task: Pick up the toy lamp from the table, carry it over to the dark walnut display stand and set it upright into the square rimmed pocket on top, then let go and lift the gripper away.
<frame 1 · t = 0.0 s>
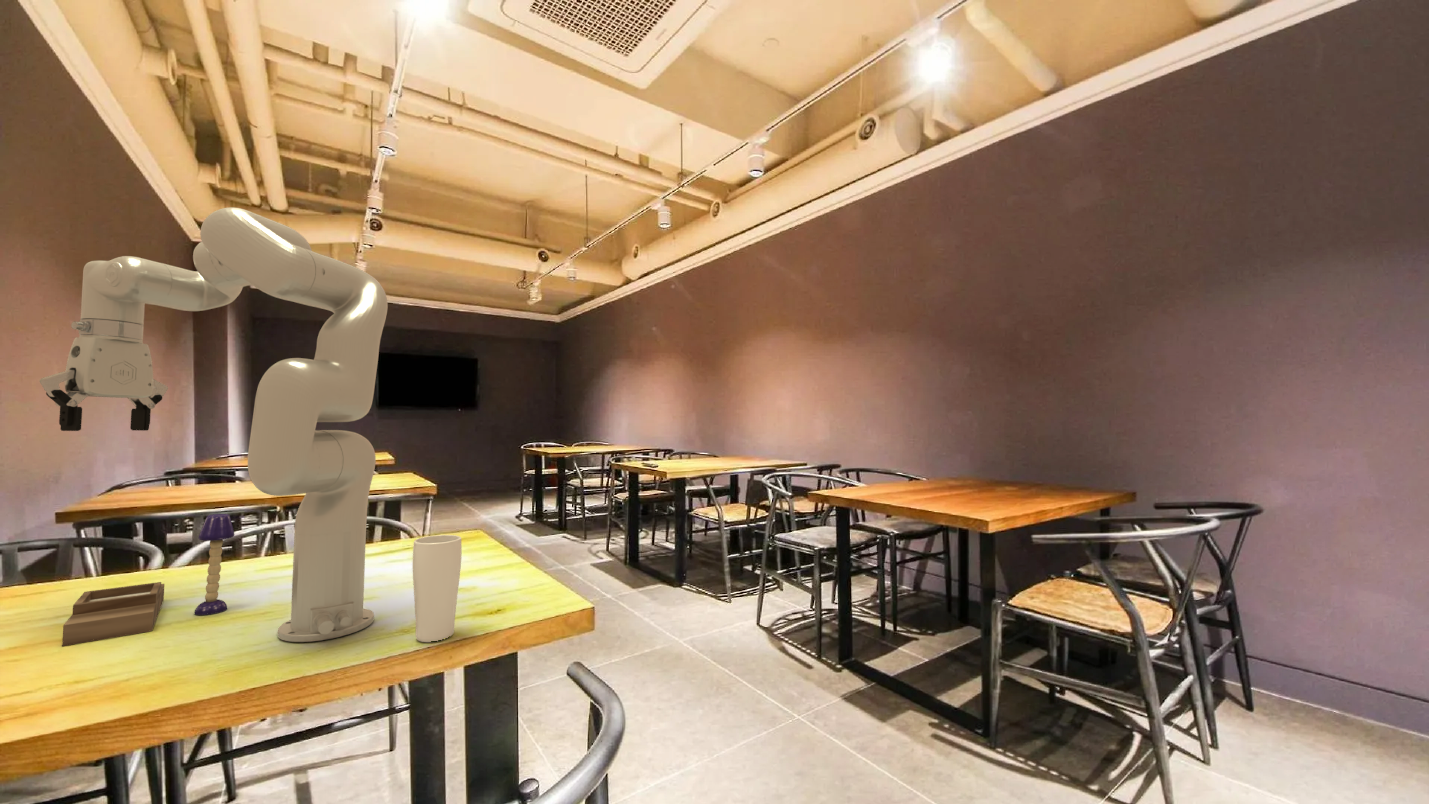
hand: (106, 430, 96), 31 cm above the table, tool pointing down, fingers open, 9 cm apart
drinking glass: (435, 638, 85), on the table
display stand: (118, 620, 90), on the table
toy lamp: (212, 612, 95), on the table
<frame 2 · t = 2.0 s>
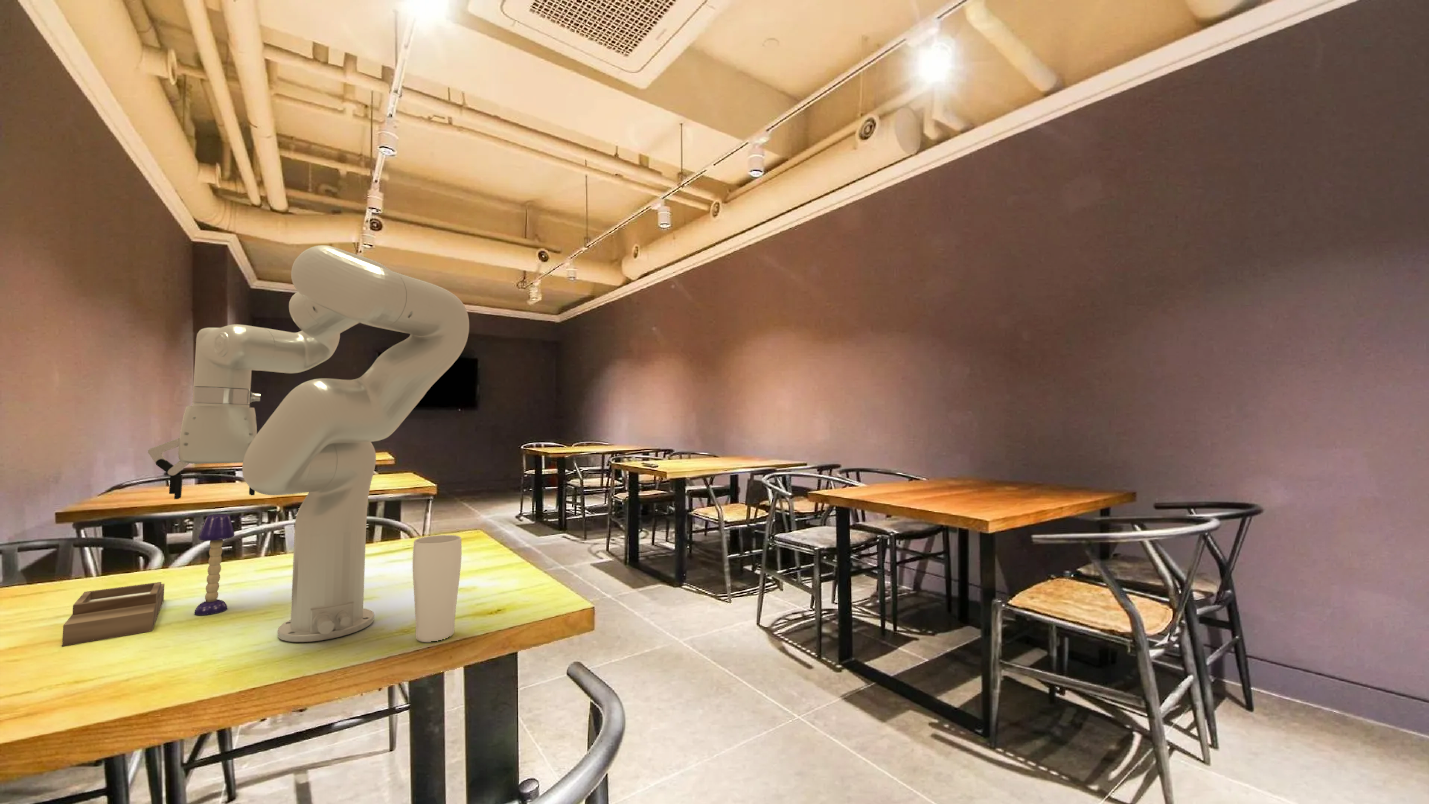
hand: (215, 496, 96), 20 cm above the table, tool pointing down, fingers open, 9 cm apart
nothing on the table moved.
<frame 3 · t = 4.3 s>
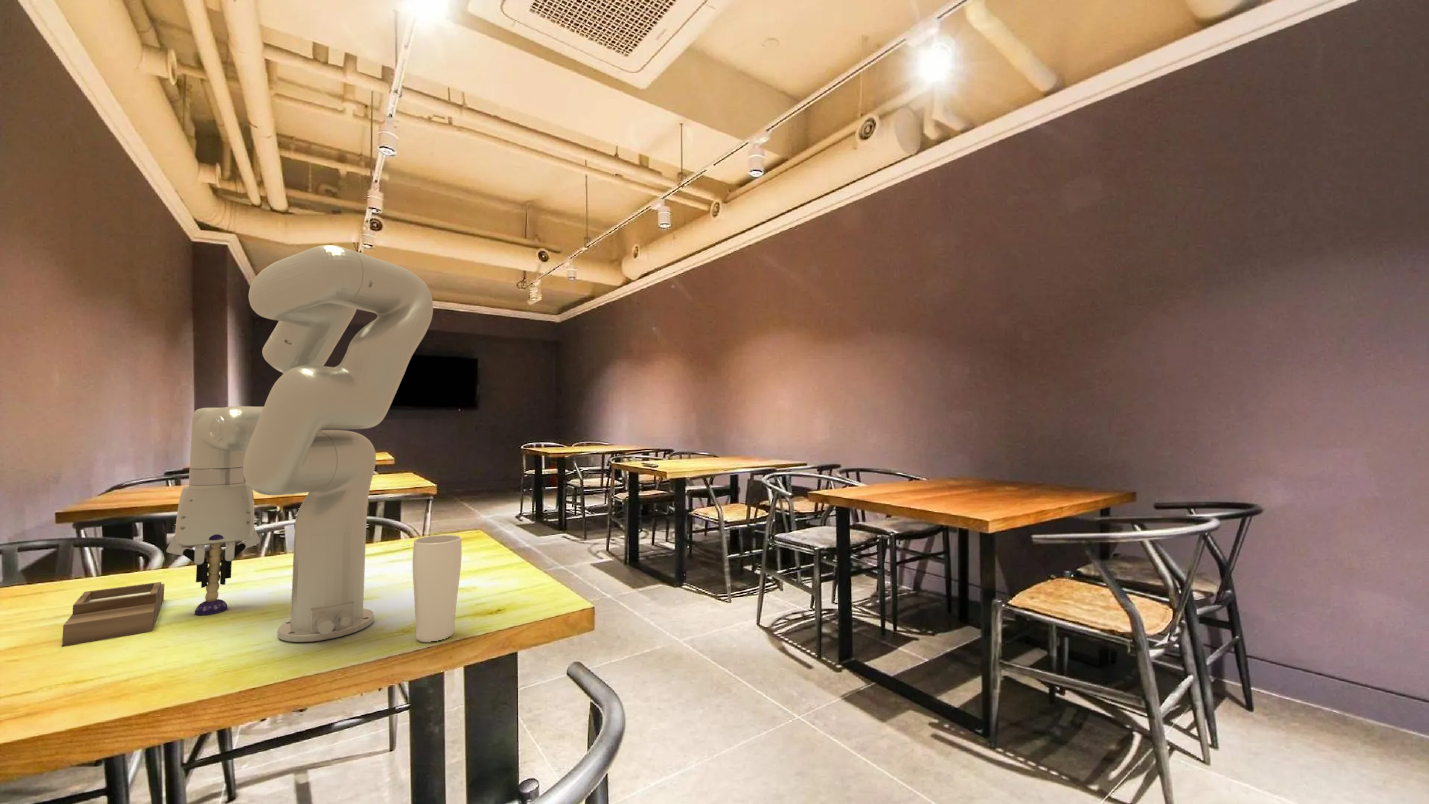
hand: (213, 583, 95), 5 cm above the table, tool pointing down, fingers closed on toy lamp
toy lamp: (212, 612, 95), on the table, touching gripper
everything else where it was.
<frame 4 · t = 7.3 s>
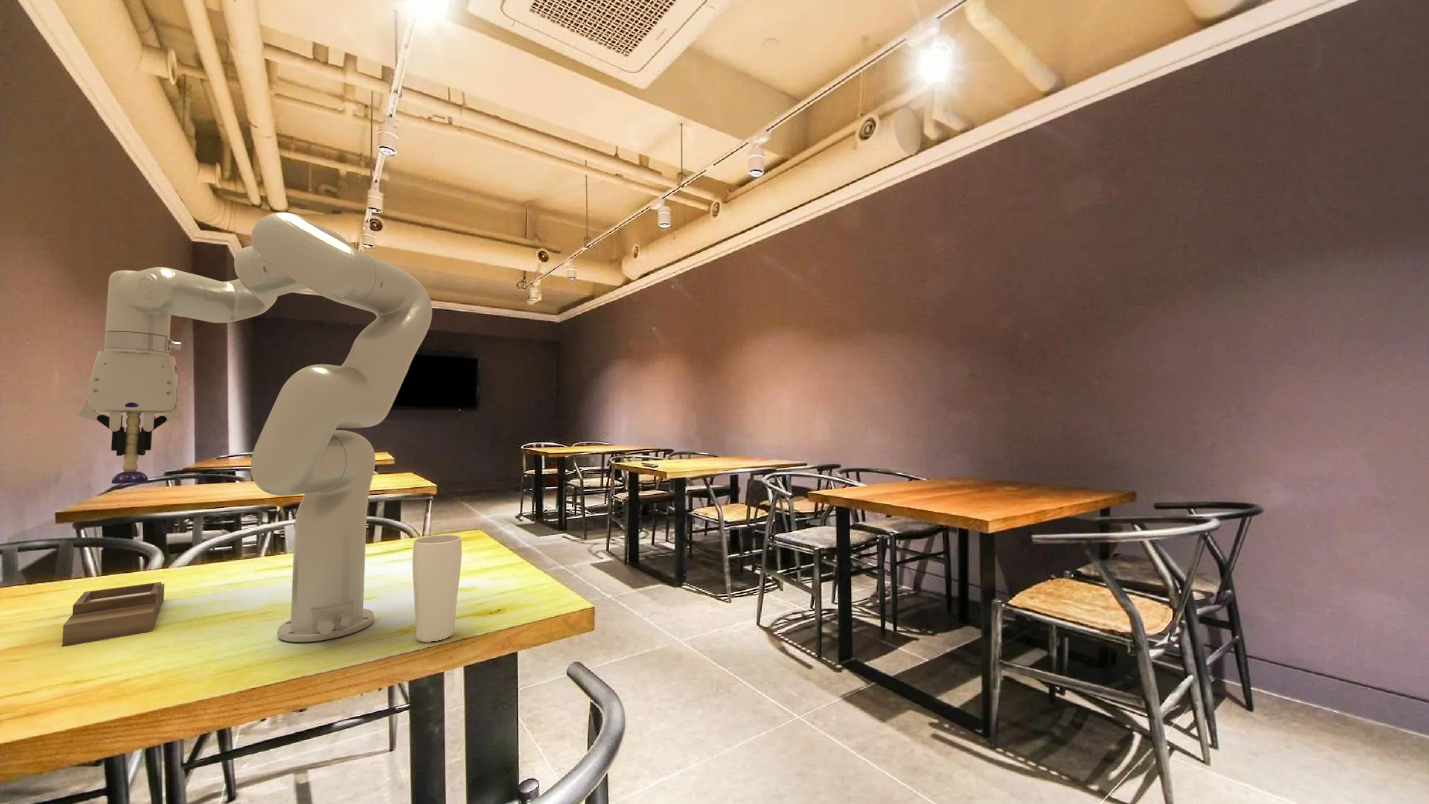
hand: (131, 454, 92), 27 cm above the table, tool pointing down, fingers closed on toy lamp
toy lamp: (131, 483, 92), point 22 cm above the table, touching gripper
everything else where it was.
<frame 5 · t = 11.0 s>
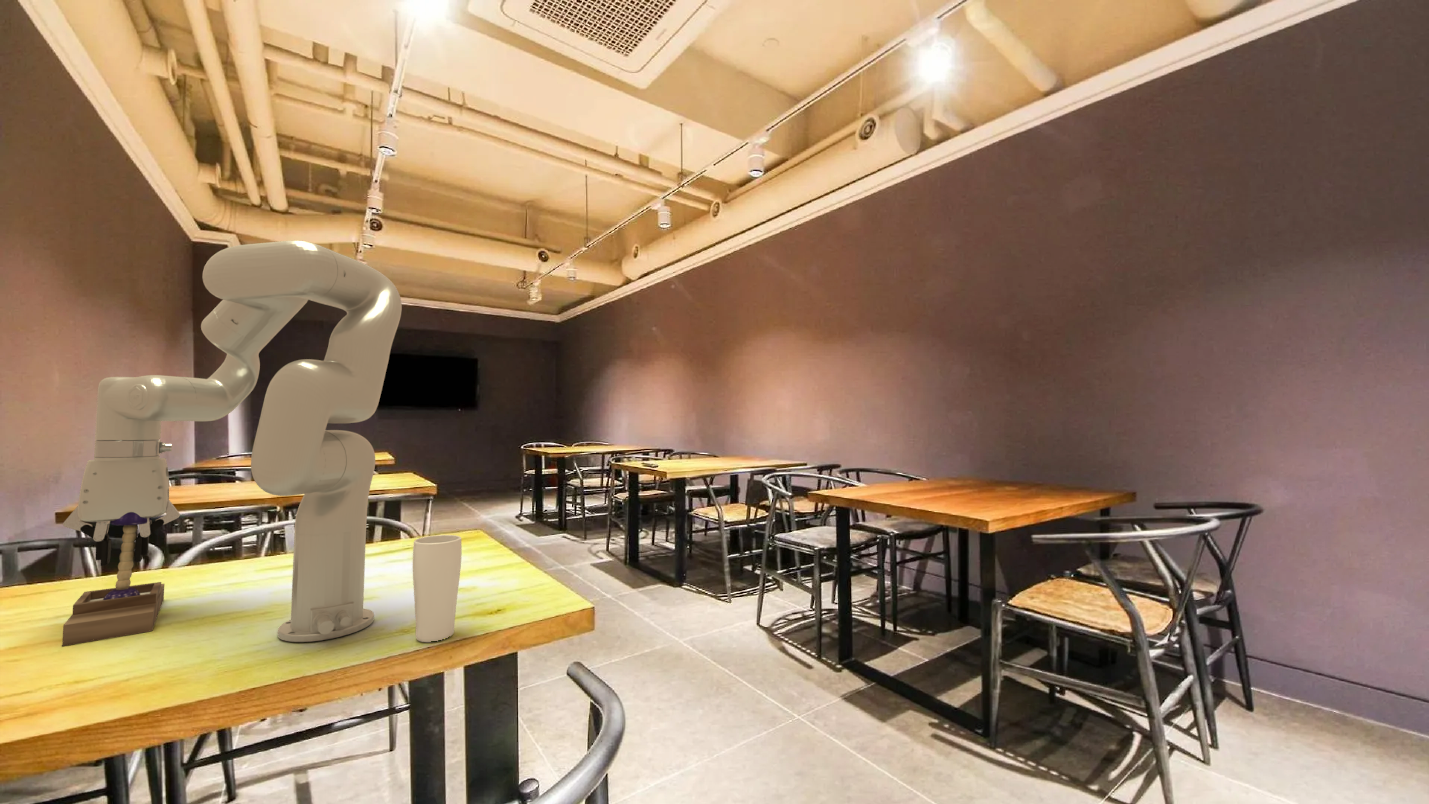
hand: (122, 561, 91), 10 cm above the table, tool pointing down, fingers open, 3 cm apart
toy lamp: (123, 601, 91), point 3 cm above the table, touching display stand, gripper
everything else where it was.
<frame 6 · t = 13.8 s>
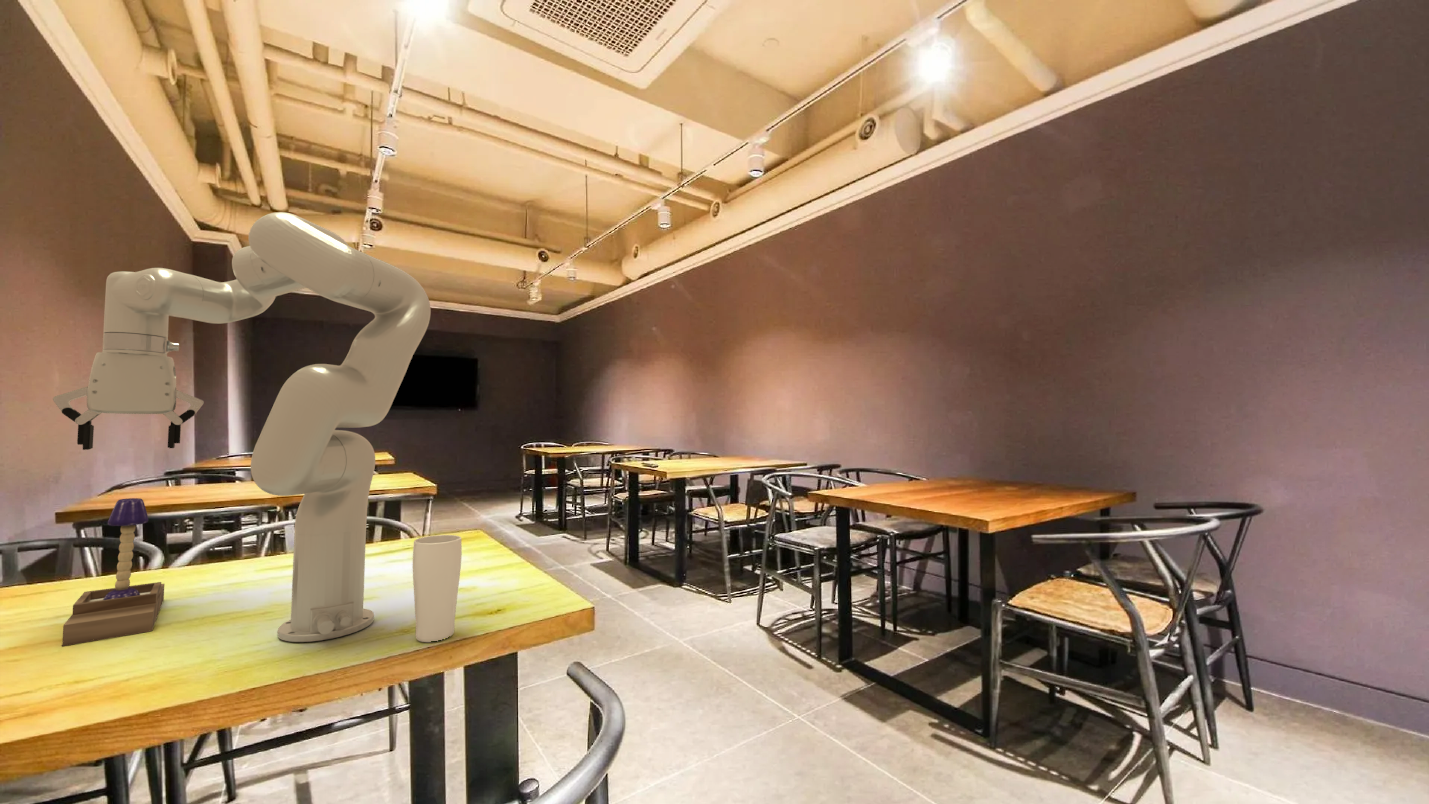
hand: (130, 448, 92), 28 cm above the table, tool pointing down, fingers open, 9 cm apart
toy lamp: (123, 601, 91), point 3 cm above the table, touching display stand
everything else where it was.
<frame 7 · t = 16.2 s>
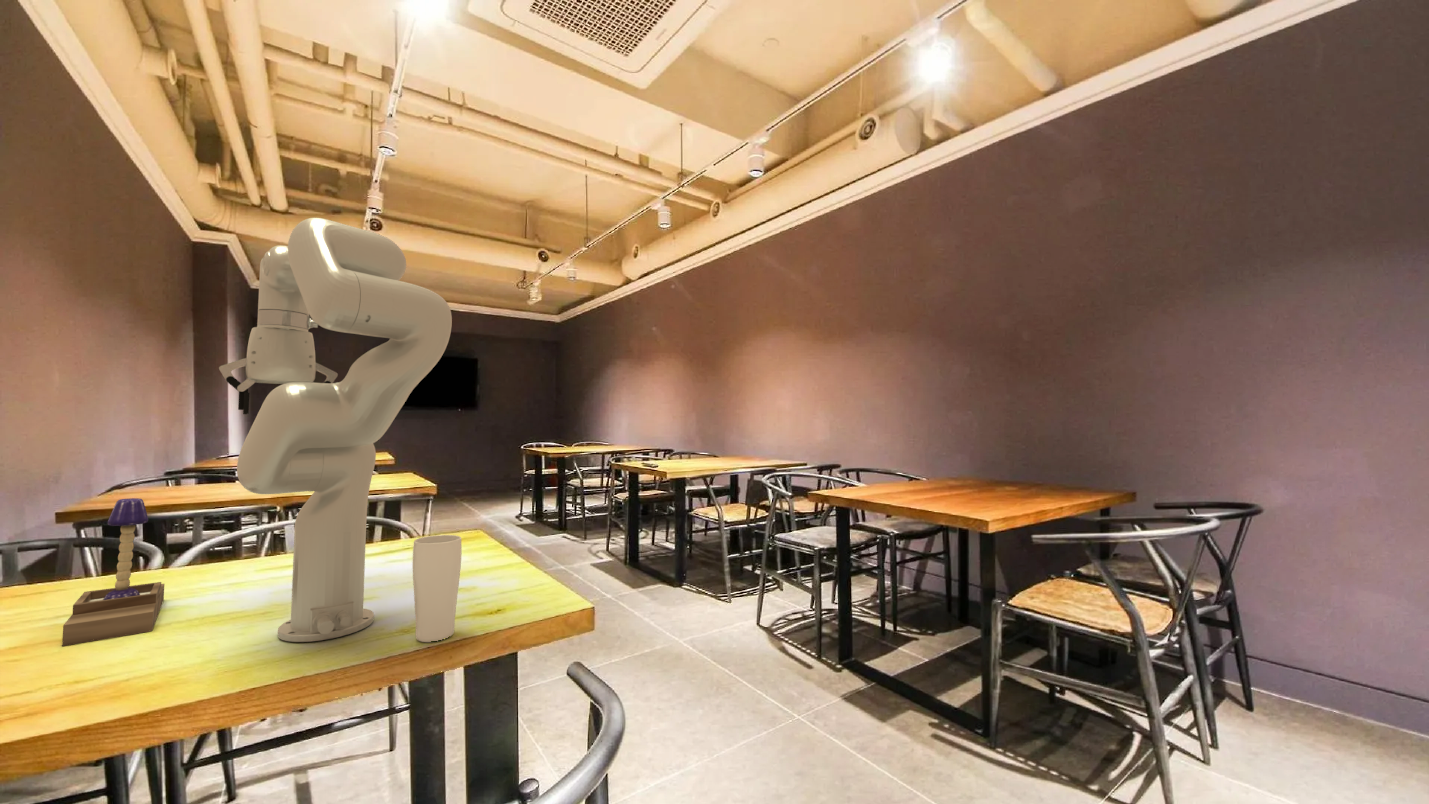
hand: (279, 414, 102), 34 cm above the table, tool pointing down, fingers open, 9 cm apart
nothing on the table moved.
at the end: toy lamp 0.4 cm off-centre on the display stand, point 3.0 cm above the display stand's base; toy lamp tilted 0°; the gripper is holding nothing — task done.
